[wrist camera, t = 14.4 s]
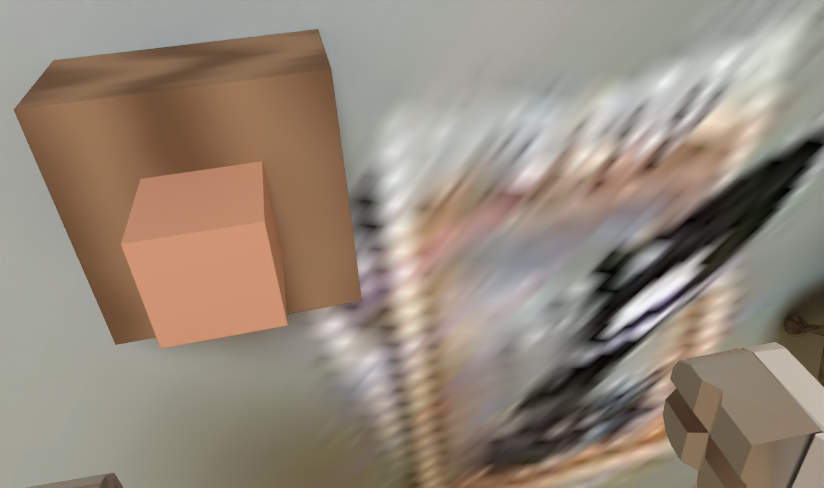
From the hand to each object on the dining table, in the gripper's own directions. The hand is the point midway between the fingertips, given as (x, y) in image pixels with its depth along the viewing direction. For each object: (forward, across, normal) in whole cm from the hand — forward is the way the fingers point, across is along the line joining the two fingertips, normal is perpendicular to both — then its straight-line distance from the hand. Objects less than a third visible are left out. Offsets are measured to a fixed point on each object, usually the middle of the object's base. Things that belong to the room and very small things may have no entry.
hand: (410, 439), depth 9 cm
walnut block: (+25, +6, +7) cm, 27 cm away
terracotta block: (+19, +6, +7) cm, 21 cm away
